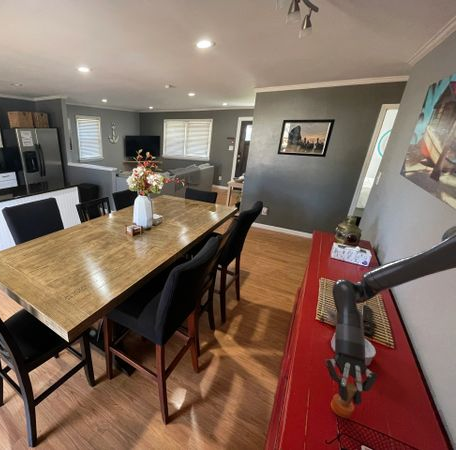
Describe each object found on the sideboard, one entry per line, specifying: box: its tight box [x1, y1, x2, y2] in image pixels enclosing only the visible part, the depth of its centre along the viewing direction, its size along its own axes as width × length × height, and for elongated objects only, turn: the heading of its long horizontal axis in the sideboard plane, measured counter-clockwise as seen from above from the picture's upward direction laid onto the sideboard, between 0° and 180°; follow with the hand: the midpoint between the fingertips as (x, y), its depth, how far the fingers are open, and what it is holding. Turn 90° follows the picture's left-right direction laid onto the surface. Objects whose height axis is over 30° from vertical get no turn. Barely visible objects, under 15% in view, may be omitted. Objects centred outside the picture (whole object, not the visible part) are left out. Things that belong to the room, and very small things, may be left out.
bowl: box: [330, 332, 377, 367], centre depth 97 cm, size 13×13×6 cm
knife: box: [361, 304, 377, 337], centre depth 115 cm, size 25×6×1 cm, turn 135°
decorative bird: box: [321, 306, 365, 331], centre depth 110 cm, size 5×16×7 cm, turn 56°
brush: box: [330, 382, 357, 419], centre depth 74 cm, size 5×5×11 cm
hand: (349, 401), depth 72 cm, fingers closed on brush, 2 cm apart
